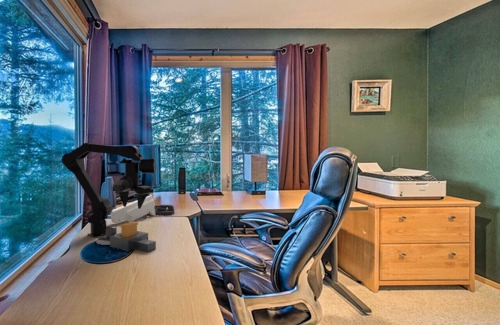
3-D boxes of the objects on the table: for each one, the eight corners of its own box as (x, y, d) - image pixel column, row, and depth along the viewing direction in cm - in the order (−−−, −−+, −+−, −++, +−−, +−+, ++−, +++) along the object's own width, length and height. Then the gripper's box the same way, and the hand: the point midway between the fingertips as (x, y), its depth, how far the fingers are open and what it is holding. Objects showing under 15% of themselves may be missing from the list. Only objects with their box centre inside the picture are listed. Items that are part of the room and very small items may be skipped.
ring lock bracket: (90, 243, 115) (90, 228, 115) (113, 236, 125) (113, 222, 125) (140, 255, 103) (140, 239, 103) (162, 246, 113) (162, 231, 113)
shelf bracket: (158, 216, 164) (154, 195, 162) (119, 235, 144) (114, 212, 141) (151, 215, 167) (148, 194, 165) (113, 233, 147) (108, 210, 144)
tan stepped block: (120, 247, 111) (120, 224, 111) (132, 242, 116) (132, 221, 116) (125, 248, 110) (125, 225, 109) (138, 244, 115) (137, 222, 115)
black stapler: (134, 201, 174) (175, 201, 175) (134, 212, 174) (175, 212, 175) (129, 204, 165) (172, 204, 166) (129, 215, 165) (172, 215, 166)
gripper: (101, 173, 125) (102, 208, 125) (132, 175, 117) (132, 213, 117) (123, 172, 135) (123, 204, 135) (152, 173, 127) (152, 208, 127)
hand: (132, 207), depth 129 cm, fingers open, 9 cm apart
